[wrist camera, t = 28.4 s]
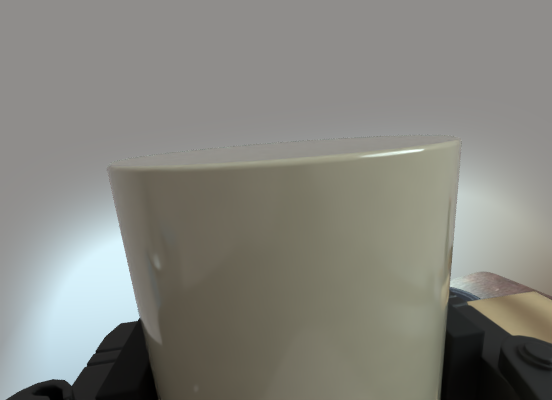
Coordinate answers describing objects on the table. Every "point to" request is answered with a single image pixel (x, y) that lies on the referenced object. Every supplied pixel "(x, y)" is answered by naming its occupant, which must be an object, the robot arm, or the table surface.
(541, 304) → the pedestal
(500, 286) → the table surface
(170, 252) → the beige cylinder
